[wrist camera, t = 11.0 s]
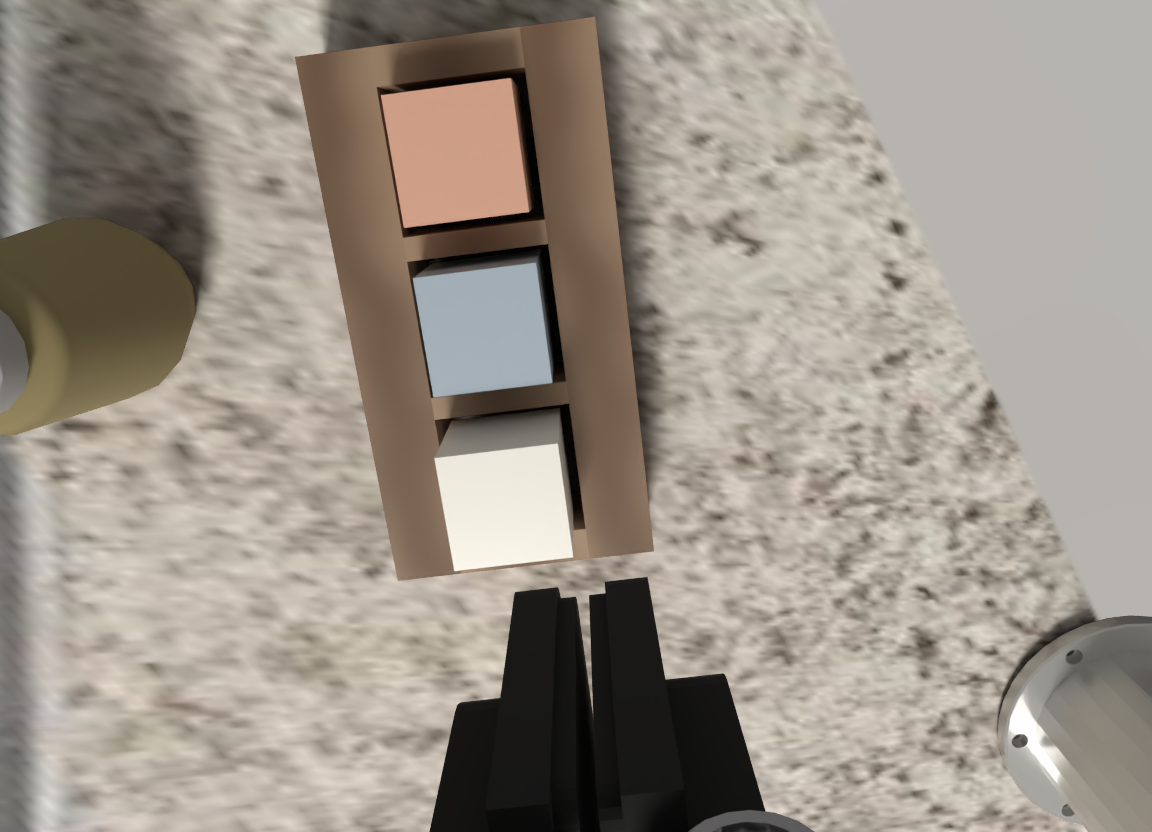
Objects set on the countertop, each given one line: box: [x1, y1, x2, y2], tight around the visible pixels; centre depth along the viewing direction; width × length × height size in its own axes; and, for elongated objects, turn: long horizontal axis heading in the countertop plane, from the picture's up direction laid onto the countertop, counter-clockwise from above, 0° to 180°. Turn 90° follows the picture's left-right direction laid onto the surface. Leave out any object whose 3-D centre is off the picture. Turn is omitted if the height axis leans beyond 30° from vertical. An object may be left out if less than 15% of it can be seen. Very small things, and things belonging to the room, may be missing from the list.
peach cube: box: [381, 78, 535, 228], centre depth 38 cm, size 5×5×5 cm
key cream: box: [434, 408, 573, 571], centre depth 40 cm, size 5×5×5 cm
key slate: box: [413, 250, 555, 397], centre depth 40 cm, size 5×5×5 cm
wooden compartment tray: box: [295, 17, 654, 581], centre depth 41 cm, size 12×23×4 cm, turn 7°
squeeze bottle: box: [0, 218, 196, 435], centre depth 34 cm, size 8×8×18 cm
